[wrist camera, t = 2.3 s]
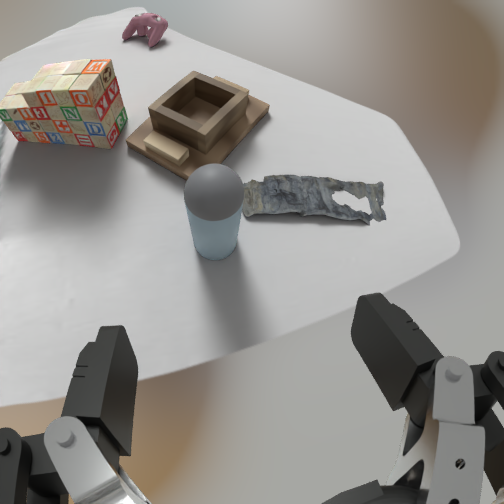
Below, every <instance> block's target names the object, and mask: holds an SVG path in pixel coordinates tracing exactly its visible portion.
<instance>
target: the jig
mask: <svg viewBox="0 0 504 504" xmlns="http://www.w3.org/2000/svg"><path fill="white" fill-rule="evenodd" d="M248 94H249V90H248V89H246V88H243V87H241V86H239V85H237V84H234V83H232V82H230V81H227V80H225V79H222V78H220V77H217V76H215V77H214V78H211V77H208V76H206V75H203V74H201V73H198V72H196V71H192V72H191V73H190V74H188V75H187V76H186V77H184V78H183V79H182V80H181V81H179V82H178V83H177V84H175V85H174V86H173V87H172V88H170V89H169V90H168V91H167V92H166V93H164V94H163V95H162V96H161V97H160V98H158V99H157V100H156V101H155V102H154V103H153V104H151V105H150V106H149V107H148V109H149V114H150V117H149V118H148V119H147V120H146V121H145V122H144V123H143V124H142V125H140V126H139V127H138V128H137V129H136V130H135V131H134V132H133V133H132V134H131V135H130V136H129V137H128V138H127V139H126V143H127V145H128V147H130V148H132V149H133V150H135V151H137V152H139V153H140V154H142V155H144V156H146V157H147V158H149V159H151V160H152V161H154V162H156V163H158V164H159V165H161V166H163V167H164V168H166V169H168V170H170V171H171V172H173V173H175V174H176V175H178V176H180V177H181V178H183V179H185V180H186V181H187V180H188V178H189V176H190V175H191V174H192V173H193V172H194V171H195V170H196V169H198V168H199V167H201V166H204V165H207V164H221V163H222V162H223V161H224V159H225V158H226V157H227V156H228V155H229V154H230V153H231V152H232V150H233V149H234V148H235V147H236V146H237V145H238V144H239V143H240V141H241V140H242V139H243V138H244V137H245V136H246V135H247V134H248V133H249V132H250V130H251V129H252V128H253V127H254V126H255V125H256V124H257V123H258V122H259V121H260V120H261V119H262V118H263V117H264V116H265V114H266V113H267V112H268V110H269V106H270V105H269V104H267V103H265V102H263V101H261V100H258V99H256V98H254V97H252V96H250V95H248Z"/></svg>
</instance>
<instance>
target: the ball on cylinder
mask: <svg viewBox="0 0 504 504" xmlns="http://www.w3.org/2000/svg"><path fill="white" fill-rule="evenodd" d="M184 200H185V205H186V209H187V214H188V219H189V223H190V227H191V232H192V236H193V241H194V245H195V248H196V250H197V251H198V253H199V254H200V255H202V256H203V257H205V258H207V259H210V260H220V259H223V258H226V257H227V256H229V255H230V254H231V253H232V252H233V250H234V249H235V246H236V243H237V236H238V230H239V224H240V218H241V212H242V206H243V200H244V187H243V183H242V181H241V179H240V177H239V176H238V174H237V173H236V172H235V171H234V170H232V169H231V168H229V167H227V166H225V165H222V164H207V165H204V166H201V167H199V168H198V169H196V170H195V171H194V172H193V173H192V174H191V175H190V176H189V178H188V180H187V182H186V184H185V188H184Z"/></svg>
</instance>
